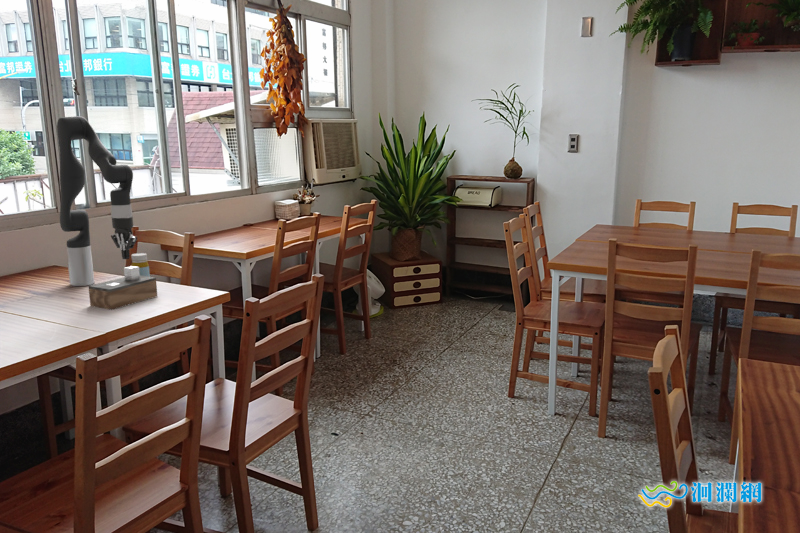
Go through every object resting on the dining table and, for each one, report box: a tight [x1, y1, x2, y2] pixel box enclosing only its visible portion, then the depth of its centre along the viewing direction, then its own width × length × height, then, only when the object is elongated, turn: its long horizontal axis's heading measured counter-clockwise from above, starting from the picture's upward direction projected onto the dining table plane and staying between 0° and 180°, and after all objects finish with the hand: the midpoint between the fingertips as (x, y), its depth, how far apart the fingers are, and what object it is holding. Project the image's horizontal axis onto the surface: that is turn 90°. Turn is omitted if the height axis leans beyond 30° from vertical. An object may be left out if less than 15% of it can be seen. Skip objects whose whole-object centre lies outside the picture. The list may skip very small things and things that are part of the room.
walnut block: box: [87, 275, 158, 311], centre depth 239 cm, size 12×22×8 cm, turn 154°
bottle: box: [130, 252, 151, 277], centre depth 259 cm, size 7×7×15 cm
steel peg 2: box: [123, 265, 140, 281], centre depth 242 cm, size 4×4×7 cm
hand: (126, 258), depth 239 cm, fingers closed
